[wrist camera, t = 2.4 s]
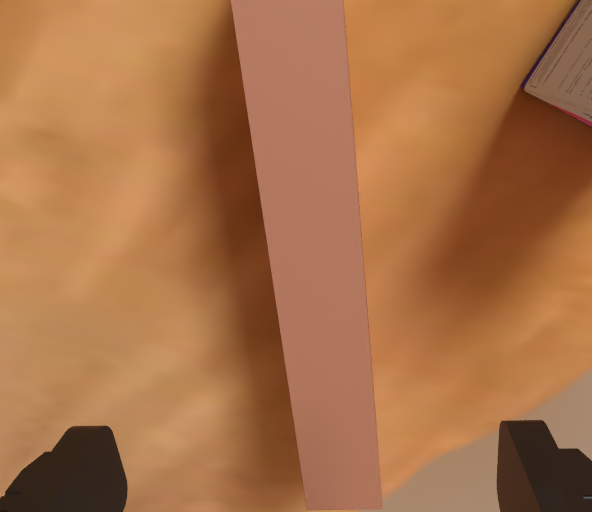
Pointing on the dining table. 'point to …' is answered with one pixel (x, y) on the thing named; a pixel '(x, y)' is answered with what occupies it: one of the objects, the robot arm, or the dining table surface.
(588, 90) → the supplement box
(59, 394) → the dining table surface
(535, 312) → the dining table surface
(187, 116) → the dining table surface
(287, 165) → the batten
